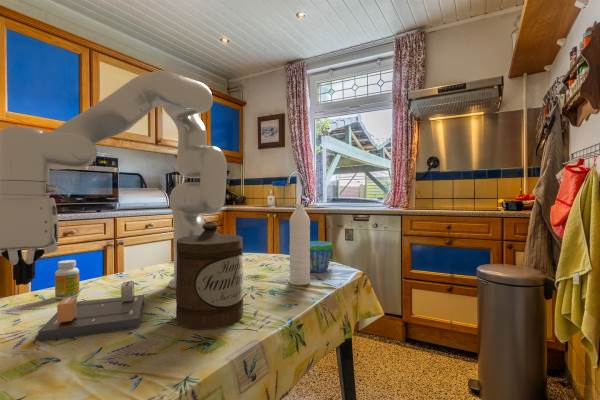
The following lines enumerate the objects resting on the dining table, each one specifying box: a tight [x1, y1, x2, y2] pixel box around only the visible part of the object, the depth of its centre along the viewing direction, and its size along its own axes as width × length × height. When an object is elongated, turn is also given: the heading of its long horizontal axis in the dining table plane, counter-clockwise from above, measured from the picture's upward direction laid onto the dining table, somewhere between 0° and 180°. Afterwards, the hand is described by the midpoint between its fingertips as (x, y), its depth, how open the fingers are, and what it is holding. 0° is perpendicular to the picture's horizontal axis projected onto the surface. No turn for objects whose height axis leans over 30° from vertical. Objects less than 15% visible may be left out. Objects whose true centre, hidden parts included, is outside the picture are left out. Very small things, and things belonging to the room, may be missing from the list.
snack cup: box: [310, 240, 335, 274], centre depth 117 cm, size 16×10×10 cm
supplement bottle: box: [54, 259, 80, 300], centre depth 88 cm, size 5×5×10 cm
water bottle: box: [289, 203, 317, 286], centre depth 101 cm, size 9×6×25 cm
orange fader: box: [56, 296, 78, 323], centre depth 67 cm, size 2×4×4 cm, turn 22°
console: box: [38, 294, 145, 343], centre depth 72 cm, size 17×17×2 cm
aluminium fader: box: [120, 280, 135, 301], centre depth 79 cm, size 2×4×4 cm, turn 22°
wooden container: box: [175, 221, 244, 330], centre depth 74 cm, size 15×15×22 cm
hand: (24, 283), depth 63 cm, fingers closed
